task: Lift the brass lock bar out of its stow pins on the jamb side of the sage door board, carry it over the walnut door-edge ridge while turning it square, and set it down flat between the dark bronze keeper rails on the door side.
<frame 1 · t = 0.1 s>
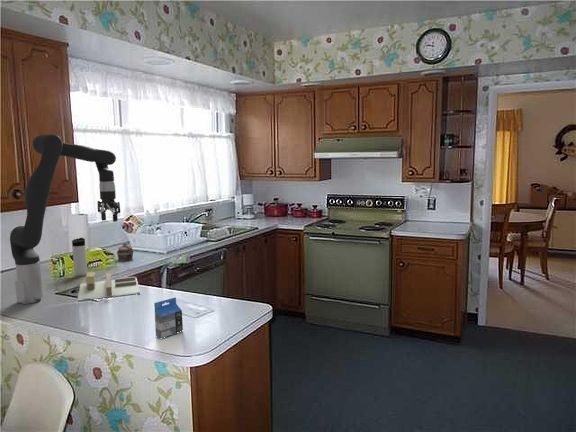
hand: (109, 220, 230), 29 cm above the countertop, fingers open, 8 cm apart
travel mug: (81, 276, 233), on the countertop
lock bar: (91, 286, 211), point 1 cm above the countertop, touching door board
cupcake: (125, 259, 268), on the countertop
label tape cartridge: (169, 334, 157), on the countertop
door board: (109, 289, 209), on the countertop
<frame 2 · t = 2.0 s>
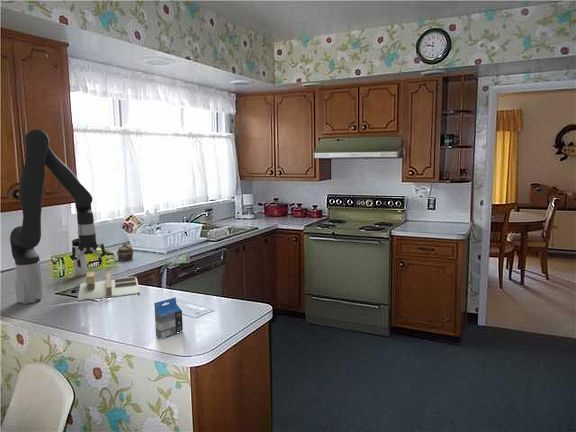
hand: (90, 266, 210), 11 cm above the countertop, fingers open, 8 cm apart
nothing on the countertop moved.
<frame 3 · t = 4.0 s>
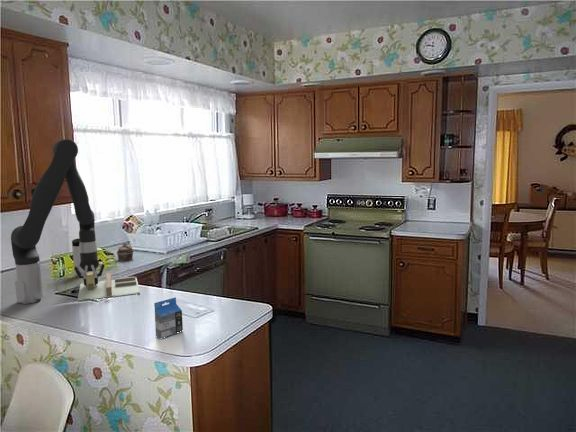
hand: (91, 285, 211), 1 cm above the countertop, fingers closed on lock bar, 3 cm apart
lock bar: (91, 286, 211), point 1 cm above the countertop, touching door board, gripper
everything else where it was.
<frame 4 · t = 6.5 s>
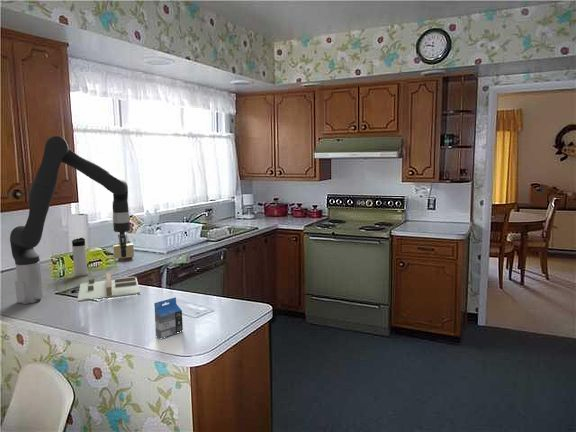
hand: (123, 255, 214), 15 cm above the countertop, fingers closed on lock bar, 3 cm apart
lock bar: (124, 256, 214), point 14 cm above the countertop, touching gripper
everything else where it was.
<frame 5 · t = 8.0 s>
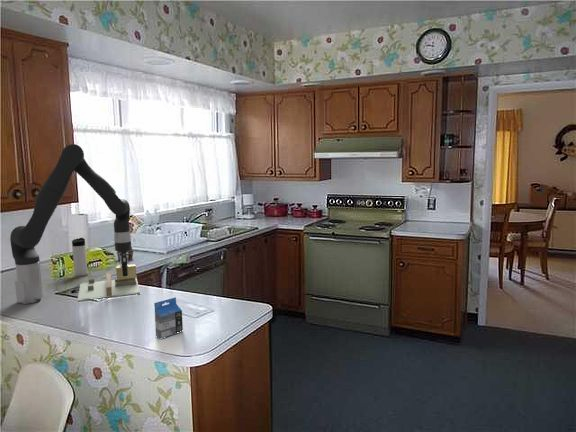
hand: (125, 274, 216), 5 cm above the countertop, fingers closed on lock bar, 3 cm apart
lock bar: (126, 277, 216), point 3 cm above the countertop, touching gripper
everything else where it was.
when the fingers open (3 cm above the countertop, at t = 9.2 s): lock bar stays where it is, resting on door board.
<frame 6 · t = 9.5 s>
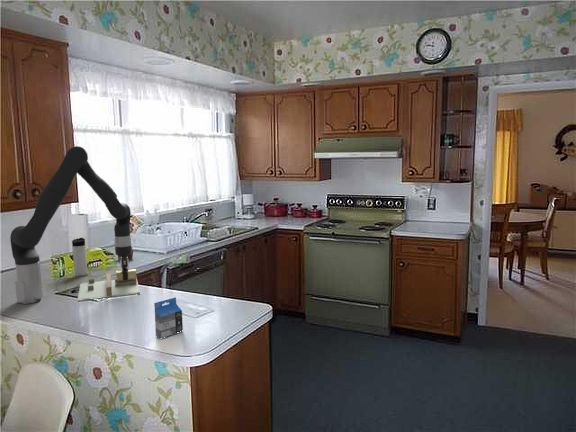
hand: (125, 278, 216), 3 cm above the countertop, fingers open, 6 cm apart
lock bar: (126, 282, 216), point 1 cm above the countertop, touching door board
everything else where it was.
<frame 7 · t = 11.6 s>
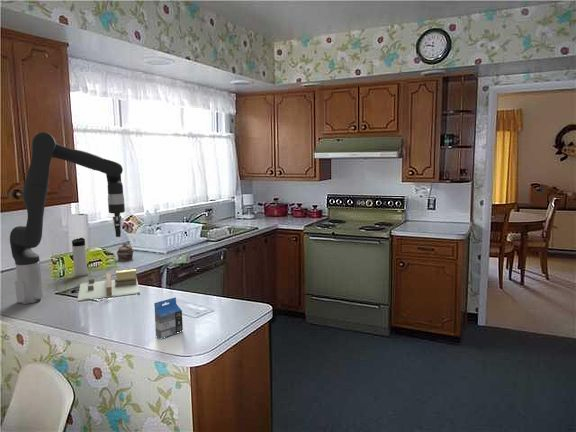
hand: (118, 235, 218), 24 cm above the countertop, fingers open, 8 cm apart
nothing on the countertop moved.
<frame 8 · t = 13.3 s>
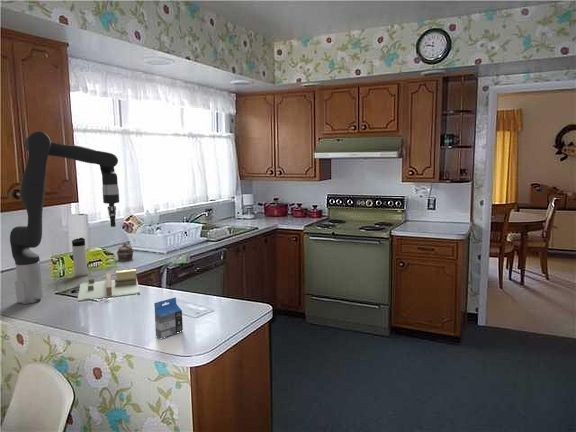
hand: (113, 225, 222), 28 cm above the countertop, fingers open, 8 cm apart
nothing on the countertop moved.
at the end: lock bar 0.6 cm from the target spot, point 1.0 cm above the countertop; lock bar tilted 0°; the gripper is holding nothing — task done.
